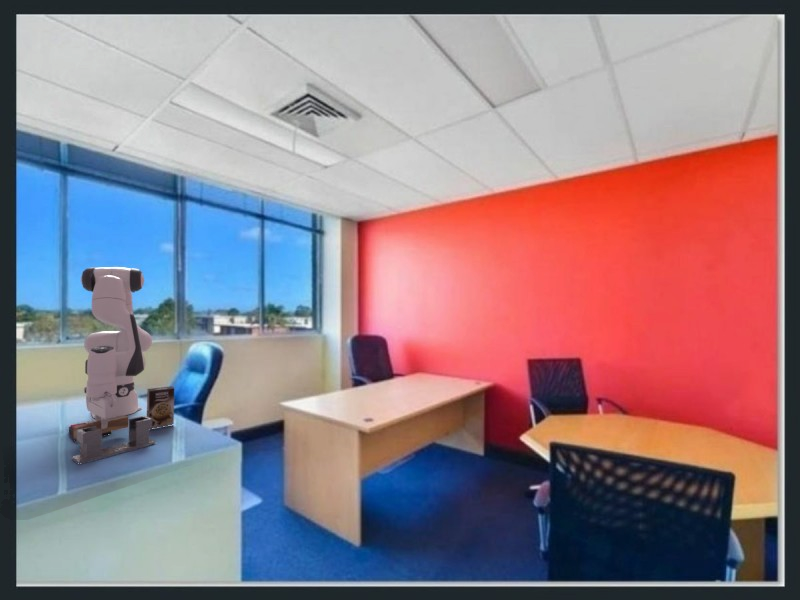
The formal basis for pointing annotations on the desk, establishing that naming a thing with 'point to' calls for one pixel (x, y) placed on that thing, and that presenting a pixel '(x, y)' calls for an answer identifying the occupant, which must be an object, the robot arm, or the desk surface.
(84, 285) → the robot arm
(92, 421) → the calculator
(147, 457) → the desk surface
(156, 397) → the coffee box
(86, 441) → the bracket
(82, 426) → the rail
